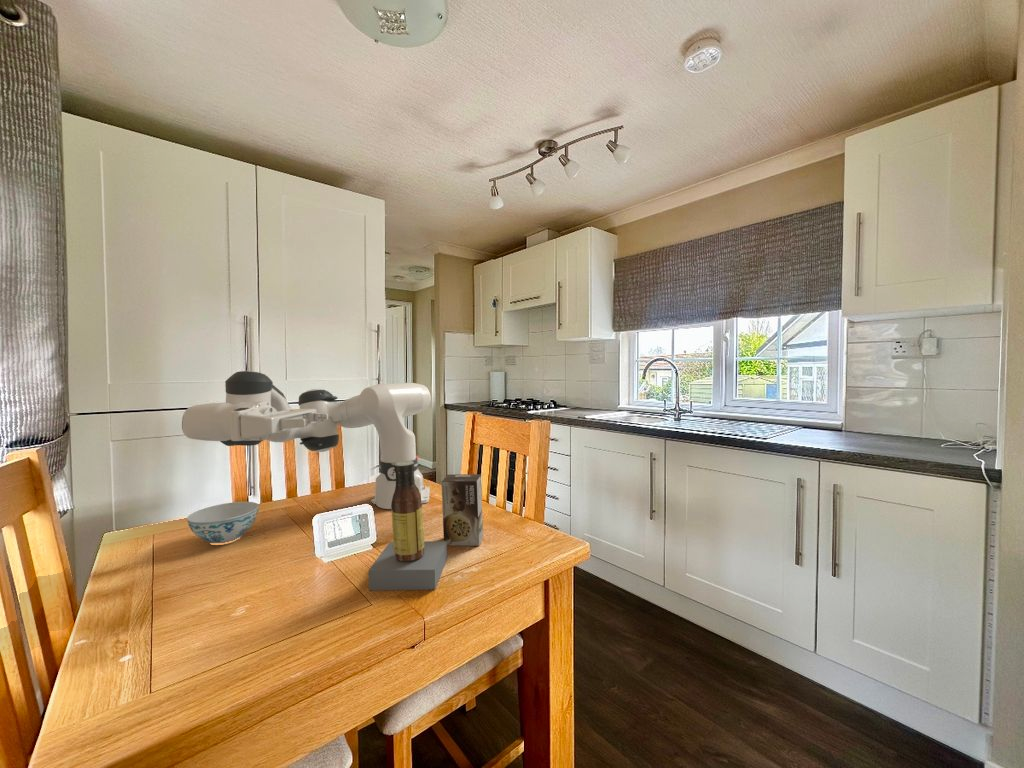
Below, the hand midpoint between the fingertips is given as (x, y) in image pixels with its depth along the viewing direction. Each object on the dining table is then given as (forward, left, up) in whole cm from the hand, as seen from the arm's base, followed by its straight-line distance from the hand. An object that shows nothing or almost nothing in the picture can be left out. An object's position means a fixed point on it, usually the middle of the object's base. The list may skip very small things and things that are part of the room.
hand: (316, 420), depth 92 cm
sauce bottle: (+9, +23, -28) cm, 37 cm away
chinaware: (-10, -30, -32) cm, 45 cm away
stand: (+8, +23, -32) cm, 40 cm away
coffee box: (-8, +32, -32) cm, 46 cm away
